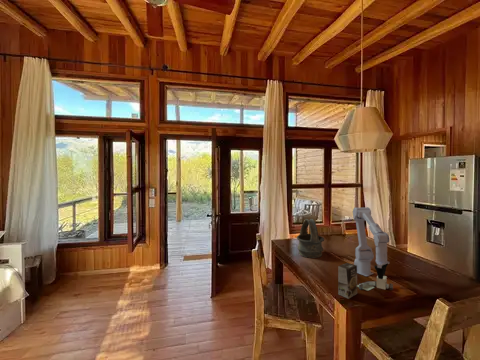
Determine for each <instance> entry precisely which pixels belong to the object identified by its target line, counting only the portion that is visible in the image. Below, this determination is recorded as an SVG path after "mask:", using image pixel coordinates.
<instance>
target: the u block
mask: <svg viewBox="0 0 480 360" xmlns="http://www.w3.org/2000/svg"><path fill="white" fill-rule="evenodd" d="M387 278H388V276H386V275H383V279H379V278H378V275H377V276H376V281H377V286H376V288H377V289H380V290H381V289H382V290H386V289H387V288H386V284H388V283H387V280H388V279H387Z"/></svg>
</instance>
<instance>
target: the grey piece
mask: <svg viewBox="0 0 480 360" xmlns="http://www.w3.org/2000/svg"><path fill="white" fill-rule="evenodd" d="M362 283H363V284H362ZM362 283H360V282H359V283H358V285H359V287H358V289H359V290H360V291H362V290H364V289H363V288H364V287H367V286H372V287H377V280H376V281H374V280H373V281H372V280H370V281H365V282H362ZM386 289H389V290H390V291H394V284H393V283H387V284H386Z"/></svg>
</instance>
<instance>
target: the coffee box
mask: <svg viewBox="0 0 480 360" xmlns="http://www.w3.org/2000/svg"><path fill="white" fill-rule="evenodd" d="M337 267H338V271H337V272H338V277H337V279H338V283H337V285H338V287H337V288H338V293H337V294H338V295H339V296H342V297H344V298H346V299H348V300H349V299H351V298H352V297H354V296H356V295H357V294H358V287H357V285H358V273H357V265H354V263H349V262H346V263H343V264H341V265H338V266H337Z"/></svg>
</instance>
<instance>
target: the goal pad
mask: <svg viewBox="0 0 480 360" xmlns="http://www.w3.org/2000/svg"><path fill="white" fill-rule="evenodd" d="M363 283H364V282H362V283H361V284H363ZM375 287H376V286H367V287H364V288H363V290H365V291H367V292H368V291H371V290H372V289H375ZM357 288H359V284H357Z"/></svg>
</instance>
